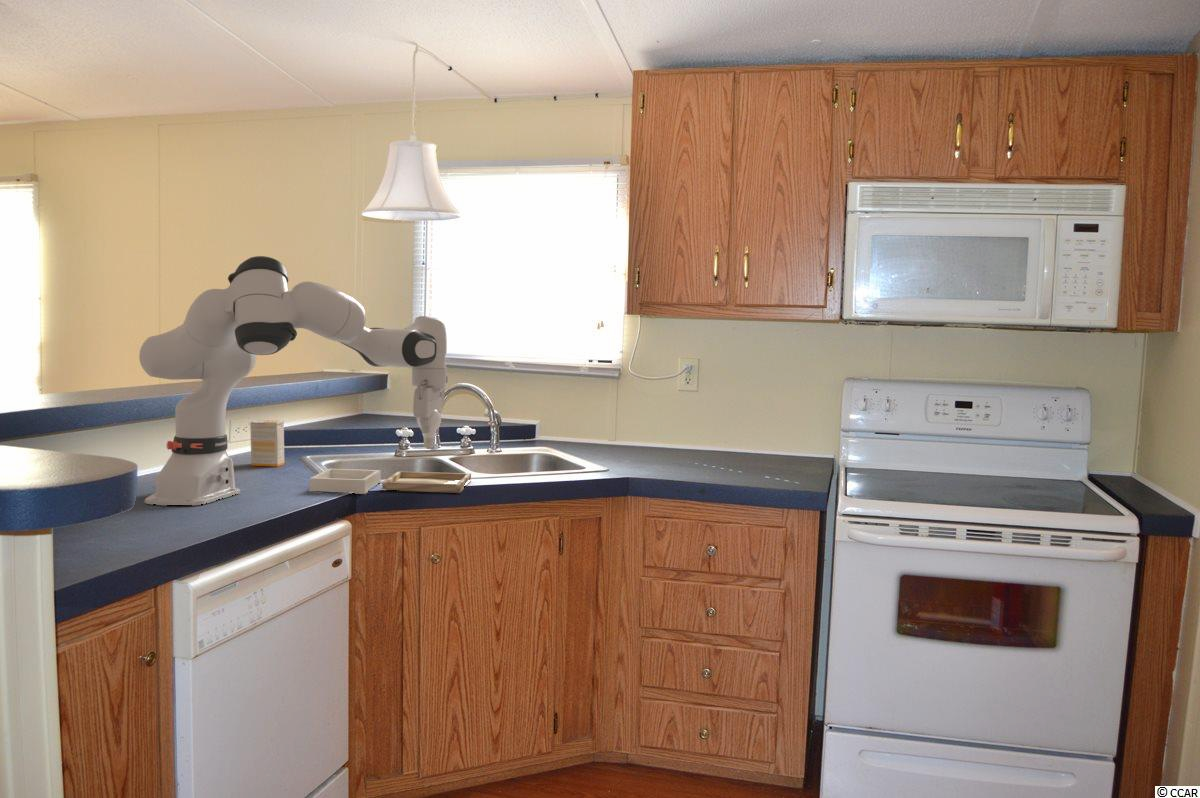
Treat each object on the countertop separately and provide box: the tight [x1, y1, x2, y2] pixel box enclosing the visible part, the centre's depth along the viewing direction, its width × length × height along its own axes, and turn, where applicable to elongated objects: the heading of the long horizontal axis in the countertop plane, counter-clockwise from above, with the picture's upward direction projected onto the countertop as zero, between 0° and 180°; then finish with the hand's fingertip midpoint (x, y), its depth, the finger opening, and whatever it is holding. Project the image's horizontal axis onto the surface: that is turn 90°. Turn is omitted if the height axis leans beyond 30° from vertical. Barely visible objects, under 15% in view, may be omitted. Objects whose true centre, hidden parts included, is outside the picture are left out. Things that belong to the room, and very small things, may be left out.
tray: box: [381, 470, 472, 494], centre depth 230 cm, size 16×20×2 cm
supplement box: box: [249, 419, 285, 468], centre depth 252 cm, size 8×5×13 cm, turn 84°
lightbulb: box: [416, 410, 442, 450], centre depth 228 cm, size 6×6×11 cm
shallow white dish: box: [309, 468, 382, 495], centre depth 224 cm, size 14×14×4 cm
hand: (428, 431), depth 228 cm, fingers closed on lightbulb, 6 cm apart
